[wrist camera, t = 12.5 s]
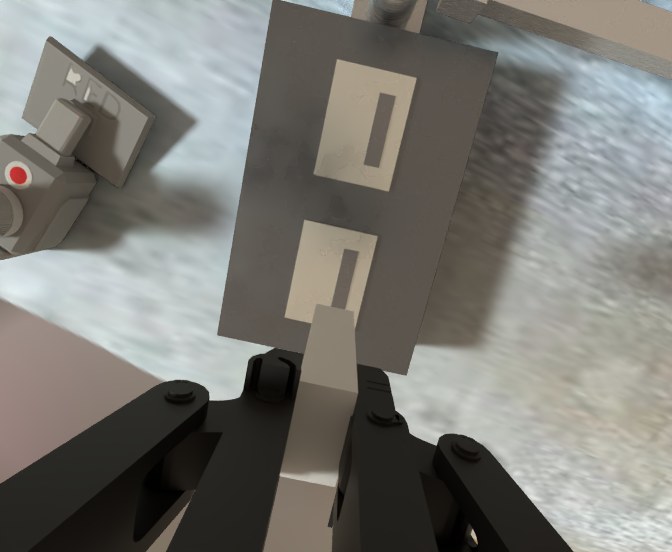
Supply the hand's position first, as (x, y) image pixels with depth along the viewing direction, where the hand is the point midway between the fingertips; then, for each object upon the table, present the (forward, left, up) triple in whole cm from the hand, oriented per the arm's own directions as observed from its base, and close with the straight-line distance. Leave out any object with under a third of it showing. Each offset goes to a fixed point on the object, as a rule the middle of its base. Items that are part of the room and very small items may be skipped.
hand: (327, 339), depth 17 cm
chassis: (-4, 0, -19) cm, 19 cm away
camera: (-2, -22, -19) cm, 29 cm away
